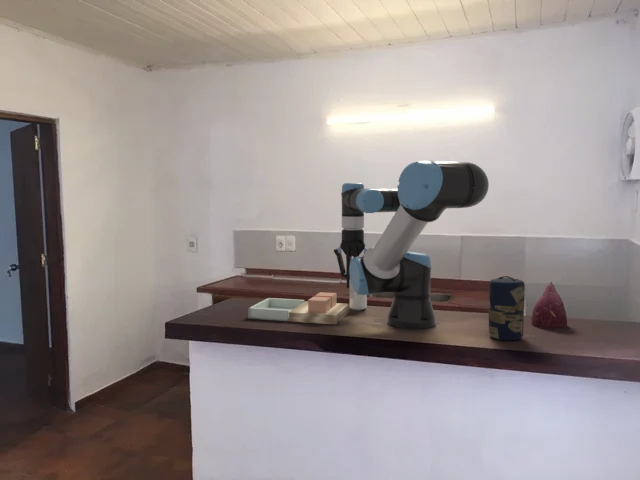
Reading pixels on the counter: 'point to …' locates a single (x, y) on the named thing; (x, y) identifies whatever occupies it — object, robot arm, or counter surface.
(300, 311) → the board
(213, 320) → the counter surface
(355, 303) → the beverage can
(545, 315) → the vegetable
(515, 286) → the canister
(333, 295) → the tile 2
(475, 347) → the counter surface
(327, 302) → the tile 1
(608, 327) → the counter surface
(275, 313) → the tray
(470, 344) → the counter surface
